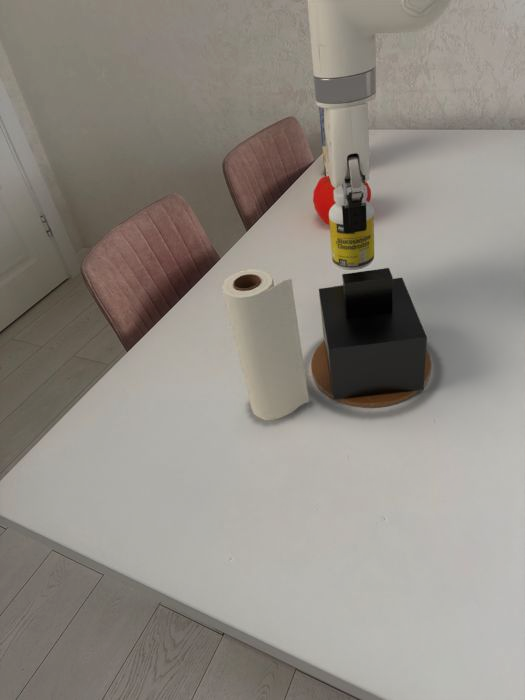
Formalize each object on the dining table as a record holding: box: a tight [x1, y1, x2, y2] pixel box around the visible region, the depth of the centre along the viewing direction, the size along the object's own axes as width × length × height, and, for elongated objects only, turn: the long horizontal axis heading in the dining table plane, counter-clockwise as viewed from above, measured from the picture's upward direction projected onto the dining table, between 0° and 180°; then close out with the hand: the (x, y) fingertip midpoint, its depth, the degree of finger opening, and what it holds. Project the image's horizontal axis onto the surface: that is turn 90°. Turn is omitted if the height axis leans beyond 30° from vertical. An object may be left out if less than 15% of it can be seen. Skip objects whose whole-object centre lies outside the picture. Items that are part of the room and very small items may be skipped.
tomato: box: [312, 176, 372, 226], centre depth 108 cm, size 13×12×11 cm
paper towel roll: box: [221, 268, 310, 421], centre depth 63 cm, size 7×6×21 cm
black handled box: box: [310, 267, 432, 409], centre depth 68 cm, size 17×17×15 cm
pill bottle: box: [329, 185, 375, 271], centre depth 74 cm, size 6×6×12 cm
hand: (351, 219), depth 73 cm, fingers closed on pill bottle, 6 cm apart
